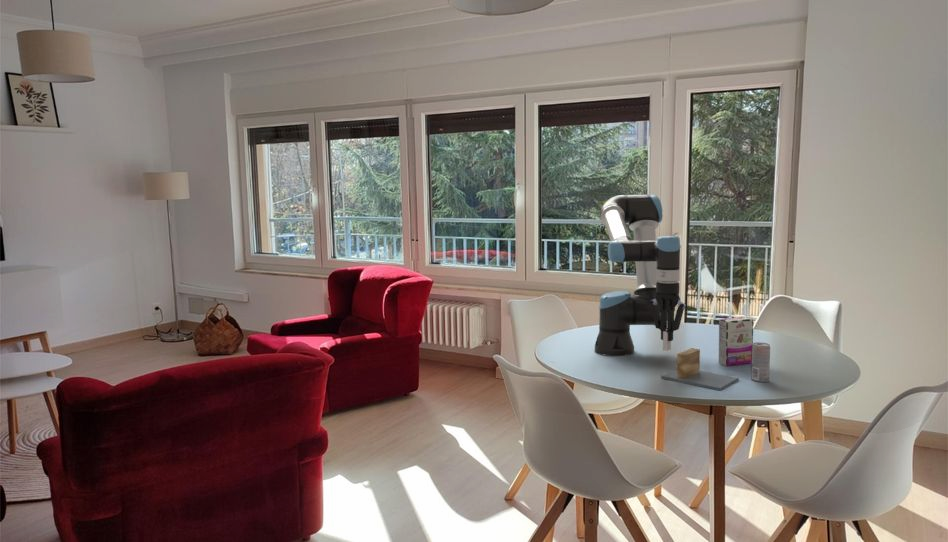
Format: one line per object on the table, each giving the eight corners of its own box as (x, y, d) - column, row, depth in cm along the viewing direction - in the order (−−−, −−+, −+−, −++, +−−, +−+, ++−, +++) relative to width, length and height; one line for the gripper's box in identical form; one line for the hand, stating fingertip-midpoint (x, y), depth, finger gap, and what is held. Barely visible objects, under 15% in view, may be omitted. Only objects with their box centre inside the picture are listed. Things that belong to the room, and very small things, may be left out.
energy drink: (764, 377, 208) (765, 342, 206) (772, 382, 202) (773, 346, 201) (748, 377, 208) (749, 342, 206) (755, 382, 202) (757, 346, 201)
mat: (661, 378, 209) (661, 375, 209) (681, 369, 219) (681, 366, 219) (720, 390, 195) (720, 388, 195) (738, 380, 205) (738, 377, 205)
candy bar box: (743, 360, 228) (745, 316, 226) (753, 363, 224) (754, 318, 222) (717, 363, 226) (718, 318, 223) (726, 366, 221) (727, 321, 219)
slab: (677, 377, 207) (677, 353, 206) (690, 370, 214) (691, 347, 213) (685, 379, 205) (686, 355, 204) (699, 372, 212) (699, 349, 211)
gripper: (644, 281, 213) (644, 348, 216) (680, 284, 204) (679, 354, 207) (655, 279, 219) (655, 344, 221) (691, 281, 210) (689, 350, 212)
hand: (666, 349), depth 214 cm, fingers closed
